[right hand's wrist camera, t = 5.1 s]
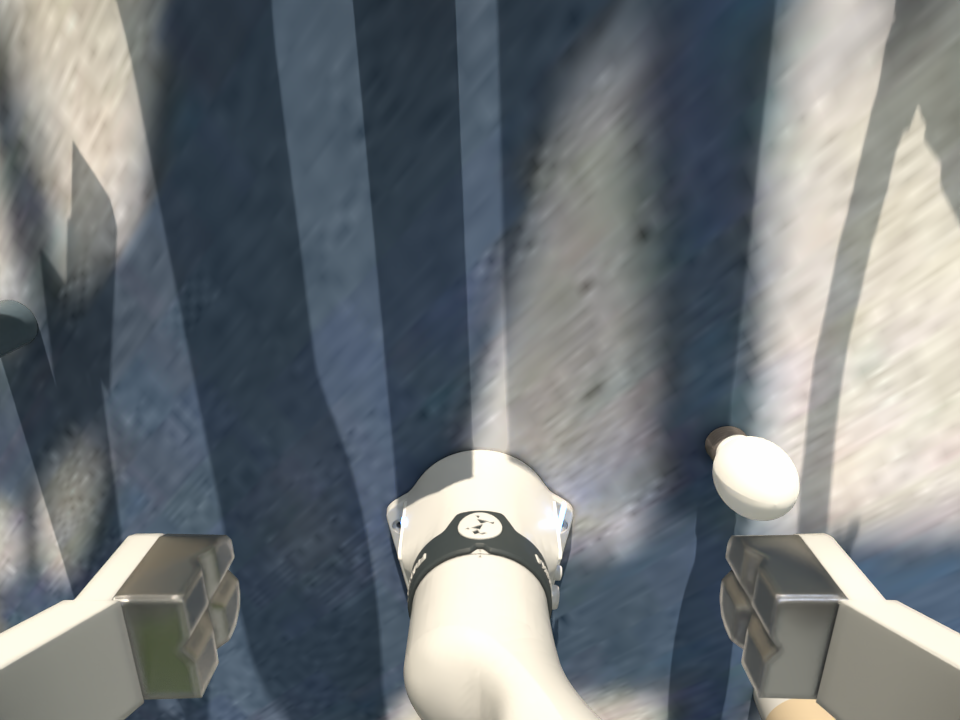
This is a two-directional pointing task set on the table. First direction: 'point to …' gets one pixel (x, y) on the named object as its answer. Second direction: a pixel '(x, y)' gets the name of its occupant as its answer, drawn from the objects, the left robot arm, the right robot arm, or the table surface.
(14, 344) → the blue gray cylinder
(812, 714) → the coffee cup
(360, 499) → the table surface
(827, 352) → the table surface
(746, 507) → the light bulb
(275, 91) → the table surface
